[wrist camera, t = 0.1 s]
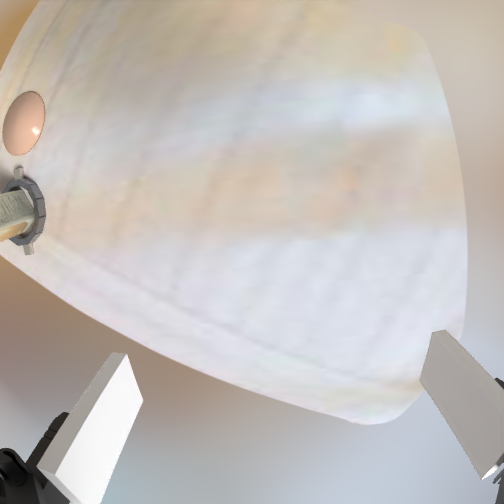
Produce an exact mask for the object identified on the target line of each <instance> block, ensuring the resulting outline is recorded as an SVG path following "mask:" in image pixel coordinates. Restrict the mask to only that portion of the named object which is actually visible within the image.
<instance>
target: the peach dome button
mask: <svg viewBox="0 0 504 504" xmlns="http://www.w3.org/2000/svg"><path fill="white" fill-rule="evenodd" d="M44 120H45V106H44V102H43V100H42V98H41V97H40V96H39V95H38V94H36V93H33V92H26V93H24V94H22V95H20V96H19V97H18V98H17V99H16V100H15V101H14V102H13V103H12V105H11V106H10V108H9V110H8V112H7V114H6V117H5V120H4V125H3V142H4V145H5V148H6V149H7V151H8V152H9V153H10V154H12V155H15V156H19V155H24V154H26V153H27V152H29V151H30V150H31V149H32V148H33V147H34V145H35V144H36V142H37V141H38V139H39V137H40V135H41V132H42V129H43V125H44Z"/></svg>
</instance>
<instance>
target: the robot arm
mask: <svg viewBox="0 0 504 504" xmlns="http://www.w3.org/2000/svg"><path fill="white" fill-rule="evenodd" d="M419 381H420V382H421V384H422V385H423V387H424V388H425V390H426V391H427V392H428V394H429V395H430V397H431V398H432V400H433V401H434V403H435V405H436V406H437V407H438V409H439V411H440V412H441V414H442V415H443V417H444V418H445V420H446V422H447V423H448V425H449V426H450V428H451V430H452V431H453V433H454V434H455V436H456V438H457V439H458V441H459V443H460V444H461V446H462V447H463V449H464V451H465V452H466V454H467V456H468V458H469V459H470V461H471V463H472V464H473V466H474V468H475V470H476V471H477V473H478V475H479V477H480V479H481V480H482V479H483V478H485V477H487V476H489V475H490V474H492V473H493V472H495V471H496V470H497V469H498V468H499V466H500V465H501V464H502V463H503V462H504V382H503V381H502V380H500V379H498V378H495V379H493V378H492V376H491V375H490V374H489V373H488V372H487V371H486V370H485V369H484V368H483V367H482V366H481V365H480V364H479V363H478V362H477V361H476V360H475V359H474V358H473V357H472V355H470V353H469V352H468V351H467V350H466V349H465V348H464V347H463V346H461V345H460V344H459V342H458V341H457V340H456V339H454V338H453V337H452V336H451V335H450V334H449V333H448V332H447V331H446V330H441V331H437V332H432V336H431V340H430V344H429V348H428V352H427V355H426V359H425V363H424V366H423V369H422V373H421V376H420V379H419ZM142 402H143V399H142V396H141V394H140V391H139V388H138V386H137V383H136V380H135V377H134V374H133V371H132V368H131V365H130V362H129V359H128V356H127V354H123V353H111V354H110V356H109V357H108V358H107V360H106V361H105V363H104V364H103V365H102V367H101V368H100V370H99V371H98V373H97V374H96V375H95V377H94V378H93V380H92V381H91V383H90V384H89V386H88V387H87V389H86V390H85V391H84V393H83V394H82V396H81V397H80V399H79V400H78V402H77V403H76V405H75V406H74V408H73V409H72V411H71V412H70V413H66V412H63V413H62V414H60V415H59V416H58V417H56V418H55V419H54V420H53V422H52V423H51V425H50V426H49V428H48V430H47V431H46V432H45V434H44V437H42V438H41V440H40V441H39V443H38V444H37V446H36V448H35V449H34V451H33V452H32V454H31V455H30V457H29V459H28V460H27V461H26V463H24V461H23V460H22V459H21V458H20V456H19V455H18V454H17V453H16V452H15V451H14V450H12V449H10V448H2V449H0V504H69V502H71V503H72V504H100V503H101V500H102V498H103V495H104V492H105V490H106V487H107V485H108V482H109V480H110V477H111V475H112V472H113V470H114V467H115V465H116V463H117V460H118V458H119V455H120V453H121V451H122V448H123V446H124V443H125V441H126V438H127V436H128V434H129V431H130V429H131V427H132V425H133V422H134V420H135V418H136V416H137V413H138V411H139V409H140V406H141V404H142ZM500 477H501V480H500V481H499V483H498V484H500V486H499V491H498V495H497V500H496V503H495V504H504V469H503V470H502V471H501V472H500V473H499V474H498V475H497V477H496V478H495V479H494V481H493V483H496V482H497V481H498V479H499V478H500Z"/></svg>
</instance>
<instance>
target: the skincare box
mask: <svg viewBox="0 0 504 504" xmlns="http://www.w3.org/2000/svg"><path fill="white" fill-rule="evenodd" d="M34 220H35V212H34V210H33V208H32V206H31V205H30V203H29V201H28V199H27V198H26V196H25V194H24V192H23V191H22V190H16V191H11V192H6V193H2V194H0V242H1V241H4V240H6V239H9V238H11V237H14V236H16V235H19V234H21V233H24V232H26V231H27V230H28V229H29V227H30V226H31V225H32V223H33V222H34Z"/></svg>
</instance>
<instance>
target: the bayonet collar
mask: <svg viewBox="0 0 504 504" xmlns="http://www.w3.org/2000/svg"><path fill="white" fill-rule="evenodd" d="M18 186H21V187H23V188H24V189H26V190H27V191H28V193H29V195H30V197H31V199H32V200H33V204H34V212H35V220H34V225H33V230H32V231H31V233H30V234H29V235H28V237H23V236H22V235H20V234H19V235H16V236H14V237H11V238H9V240H11V241H12V242H14V243H15V244H16V245H18V246H20V245H23V247H24V252H25V255H31V254H33V253H34V249H33V244H32V243H33V242H35V241H36V239H37V238H38V237H39V236H40V234H41V233H42V231H43V228H44V223H45V218H46V216H45V215H46V211H45V203H44V198H43V195H42V193H41V191H40V190H39V188H38V186H37V184H36V183H34V182H32V181H31V180H29V179H27V178H24V173H23V168H18V169H15V170H14V181H11V182H10V183H9V184H8V185H7V187H6V188H5V190H4V191H3V193H6V192H11V191H15V190H16V188H17V187H18Z"/></svg>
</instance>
